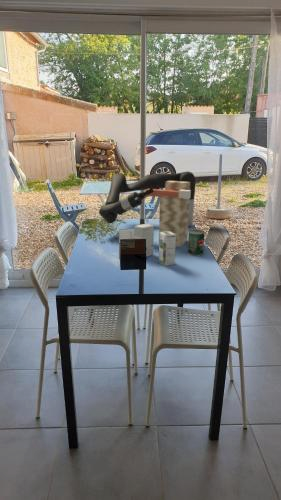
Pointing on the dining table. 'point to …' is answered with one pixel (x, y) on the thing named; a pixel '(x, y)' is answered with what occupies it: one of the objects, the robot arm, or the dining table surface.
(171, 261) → the syrup box
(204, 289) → the dining table surface
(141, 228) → the skincare box
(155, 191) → the block
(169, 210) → the stand
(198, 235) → the canned tomato
